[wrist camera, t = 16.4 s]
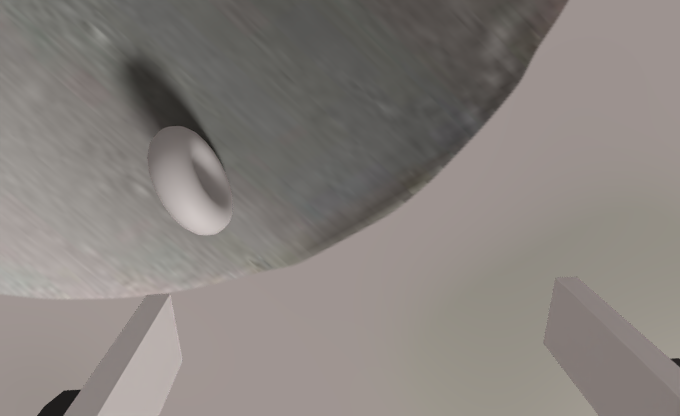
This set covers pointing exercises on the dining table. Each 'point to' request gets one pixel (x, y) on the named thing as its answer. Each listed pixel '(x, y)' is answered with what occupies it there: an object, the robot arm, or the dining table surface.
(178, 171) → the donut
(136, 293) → the dining table surface
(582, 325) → the robot arm
